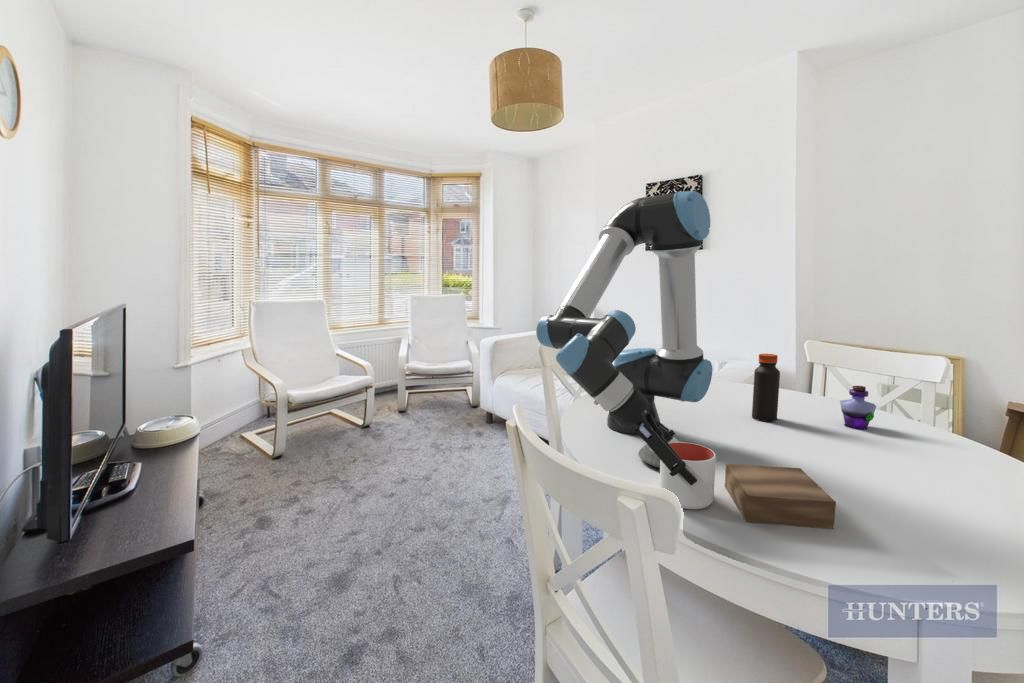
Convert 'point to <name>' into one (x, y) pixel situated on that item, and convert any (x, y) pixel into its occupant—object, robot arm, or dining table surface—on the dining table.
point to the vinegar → (766, 389)
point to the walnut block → (779, 496)
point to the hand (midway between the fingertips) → (698, 477)
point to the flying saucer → (649, 456)
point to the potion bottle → (857, 409)
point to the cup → (701, 463)
